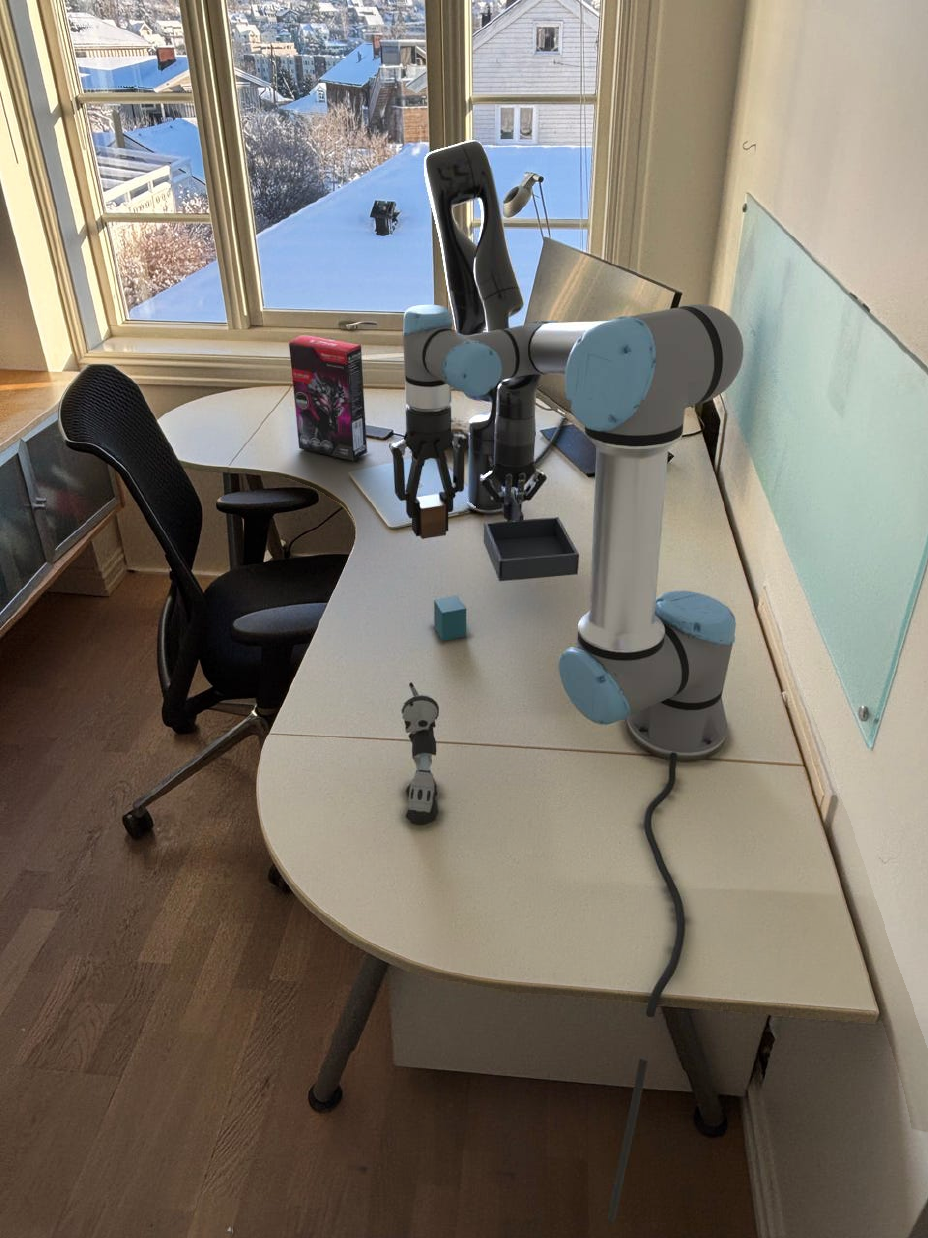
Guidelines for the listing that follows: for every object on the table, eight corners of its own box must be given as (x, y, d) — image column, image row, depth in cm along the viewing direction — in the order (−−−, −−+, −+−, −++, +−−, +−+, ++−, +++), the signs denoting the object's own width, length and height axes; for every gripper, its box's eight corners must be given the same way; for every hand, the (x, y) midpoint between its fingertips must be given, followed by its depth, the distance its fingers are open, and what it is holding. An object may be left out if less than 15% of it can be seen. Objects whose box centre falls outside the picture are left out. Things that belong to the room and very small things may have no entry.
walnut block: (446, 535, 163) (446, 504, 160) (421, 539, 162) (421, 508, 158) (438, 523, 167) (437, 493, 163) (414, 527, 165) (413, 497, 162)
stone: (398, 433, 232) (403, 409, 229) (417, 425, 245) (422, 402, 243) (477, 457, 228) (483, 433, 226) (491, 447, 242) (497, 425, 239)
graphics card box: (296, 449, 231) (285, 340, 216) (313, 439, 236) (303, 333, 221) (353, 463, 224) (346, 352, 209) (369, 453, 229) (363, 343, 214)
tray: (577, 574, 163) (579, 550, 160) (499, 581, 161) (499, 556, 158) (544, 512, 183) (545, 489, 180) (473, 517, 181) (474, 494, 178)
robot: (441, 856, 121) (440, 742, 110) (404, 858, 121) (400, 743, 110) (437, 755, 138) (436, 646, 127) (405, 756, 137) (401, 647, 126)
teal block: (466, 636, 164) (466, 608, 160) (442, 641, 163) (442, 613, 159) (457, 623, 167) (457, 595, 164) (434, 627, 166) (434, 599, 163)
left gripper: (545, 426, 174) (540, 508, 184) (475, 430, 172) (474, 513, 182) (555, 441, 168) (549, 525, 178) (482, 446, 166) (481, 531, 176)
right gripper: (470, 390, 156) (469, 513, 169) (370, 402, 151) (377, 528, 164) (486, 405, 150) (483, 532, 164) (382, 418, 146) (388, 547, 159)
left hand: (511, 519), depth 180 cm, fingers closed on tray, 1 cm apart
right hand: (430, 529), depth 164 cm, fingers closed on walnut block, 4 cm apart
